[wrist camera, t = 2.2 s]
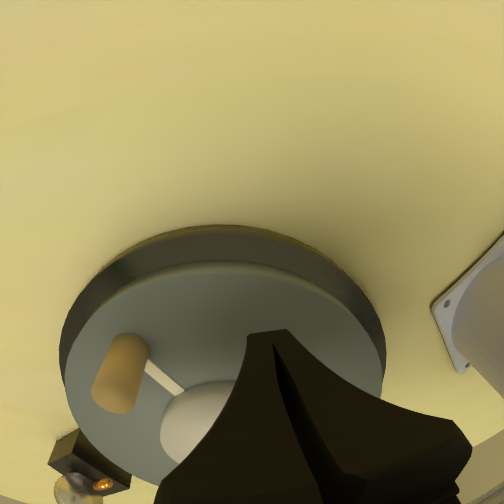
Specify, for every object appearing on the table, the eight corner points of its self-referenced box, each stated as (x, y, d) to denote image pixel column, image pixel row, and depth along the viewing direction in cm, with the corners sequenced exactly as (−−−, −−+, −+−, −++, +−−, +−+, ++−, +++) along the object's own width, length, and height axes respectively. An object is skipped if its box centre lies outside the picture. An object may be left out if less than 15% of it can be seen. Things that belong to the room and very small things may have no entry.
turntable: (252, 177, 12) (271, 194, 8) (408, 396, 17) (440, 445, 13) (27, 372, 14) (-6, 425, 10) (212, 498, 19) (214, 547, 15)
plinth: (252, 141, 13) (257, 140, 12) (413, 378, 19) (423, 391, 17) (21, 351, 15) (10, 365, 14) (211, 489, 21) (211, 503, 19)
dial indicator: (92, 420, 17) (69, 489, 12) (146, 457, 19) (137, 525, 13) (56, 441, 18) (34, 499, 12) (105, 474, 20) (93, 531, 14)
